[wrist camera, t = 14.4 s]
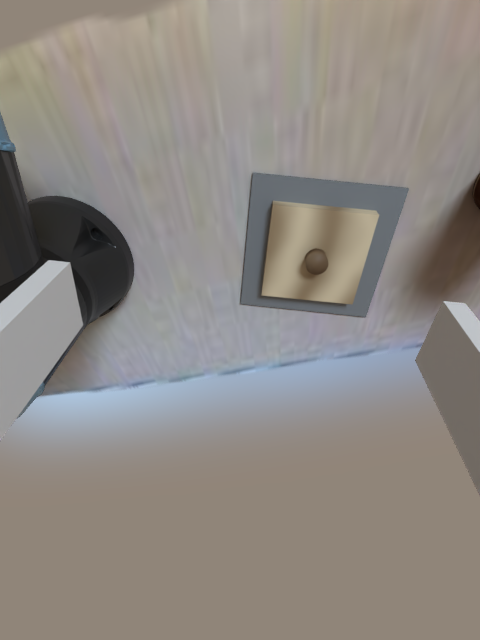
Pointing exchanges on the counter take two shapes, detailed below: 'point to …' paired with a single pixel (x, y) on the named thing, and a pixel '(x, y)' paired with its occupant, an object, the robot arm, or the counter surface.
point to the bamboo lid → (317, 251)
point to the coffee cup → (477, 192)
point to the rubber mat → (326, 194)
